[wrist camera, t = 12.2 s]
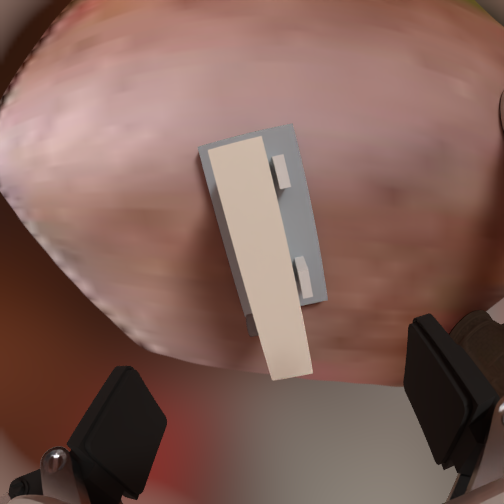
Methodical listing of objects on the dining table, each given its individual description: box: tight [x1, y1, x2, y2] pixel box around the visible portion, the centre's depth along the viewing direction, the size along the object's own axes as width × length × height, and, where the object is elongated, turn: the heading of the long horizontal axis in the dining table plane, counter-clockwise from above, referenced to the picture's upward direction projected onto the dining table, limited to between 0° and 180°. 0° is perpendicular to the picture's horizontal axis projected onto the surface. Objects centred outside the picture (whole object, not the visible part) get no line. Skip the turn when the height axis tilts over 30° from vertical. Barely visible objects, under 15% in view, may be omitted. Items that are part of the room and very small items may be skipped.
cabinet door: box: [208, 136, 313, 380], centre depth 23 cm, size 4×16×14 cm, turn 14°
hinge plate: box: [198, 124, 328, 317], centre depth 29 cm, size 10×20×6 cm, turn 14°
